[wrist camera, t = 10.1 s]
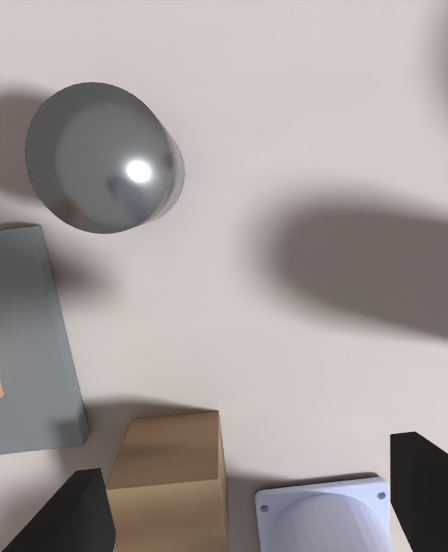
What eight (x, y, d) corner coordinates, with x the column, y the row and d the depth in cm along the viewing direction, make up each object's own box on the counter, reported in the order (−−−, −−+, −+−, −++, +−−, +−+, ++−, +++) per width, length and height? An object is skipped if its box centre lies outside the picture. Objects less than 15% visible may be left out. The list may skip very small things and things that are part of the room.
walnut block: (227, 482, 21) (229, 568, 16) (145, 490, 21) (123, 578, 16) (218, 409, 20) (218, 479, 15) (132, 418, 20) (104, 490, 15)
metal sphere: (191, 217, 17) (180, 224, 13) (93, 229, 17) (44, 241, 13) (176, 110, 16) (158, 73, 11) (71, 123, 16) (8, 92, 11)
